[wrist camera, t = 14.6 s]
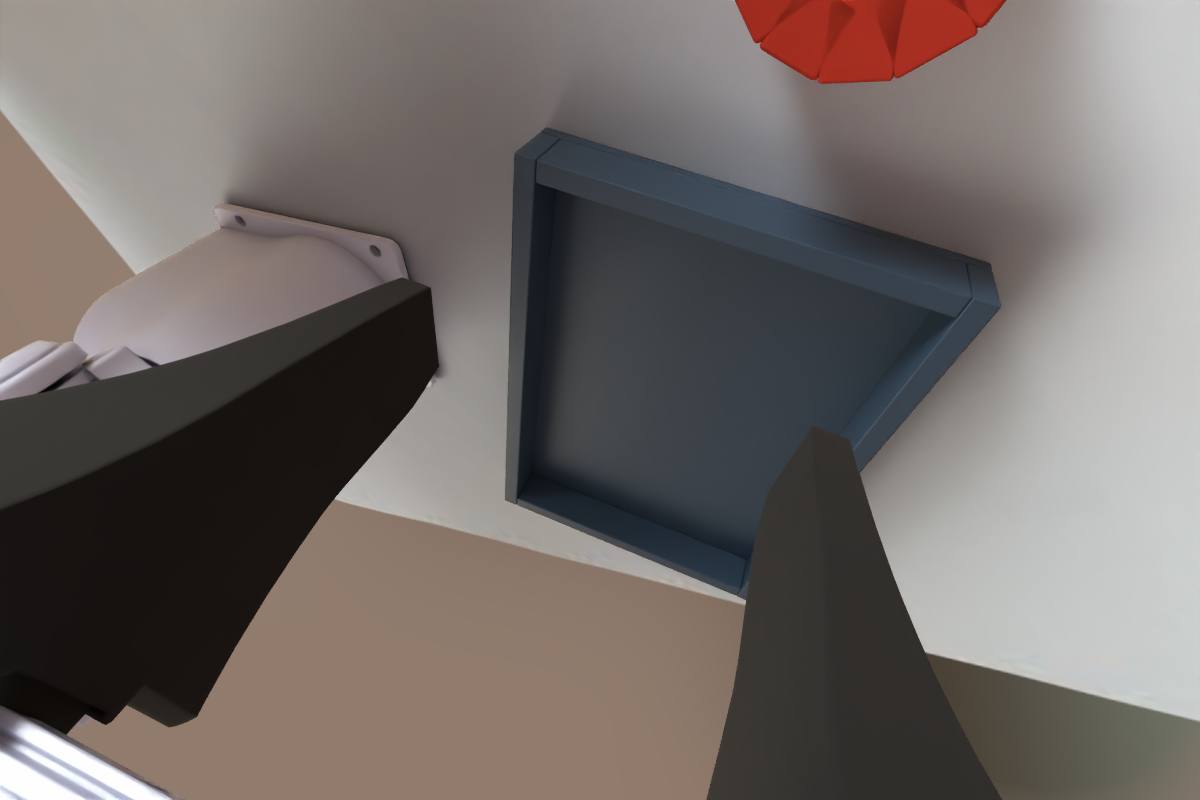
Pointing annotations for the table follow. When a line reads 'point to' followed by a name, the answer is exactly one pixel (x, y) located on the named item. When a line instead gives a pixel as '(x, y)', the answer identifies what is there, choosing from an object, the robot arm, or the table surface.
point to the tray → (704, 347)
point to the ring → (862, 34)
